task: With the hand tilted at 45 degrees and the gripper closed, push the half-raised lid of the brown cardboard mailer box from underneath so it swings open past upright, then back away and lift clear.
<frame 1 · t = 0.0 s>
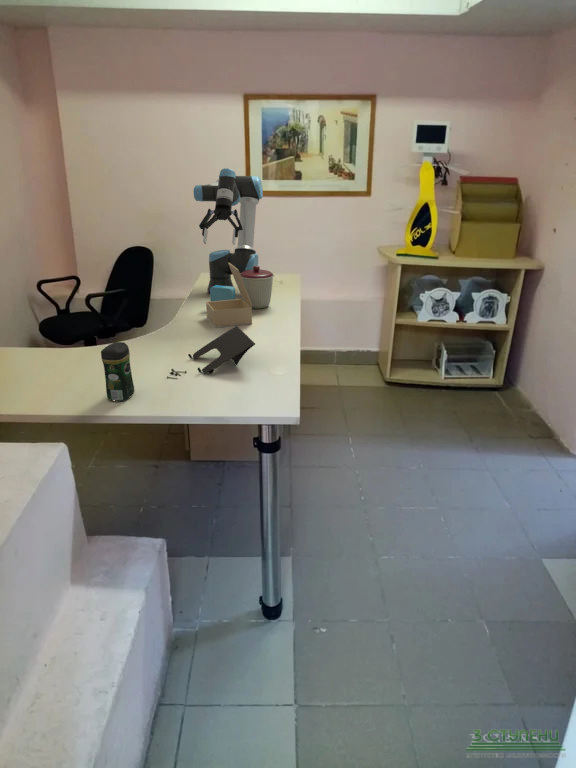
hand: (218, 243, 260), 36 cm above the table, tool tilted 35°, fingers open, 13 cm apart
coffee jar: (120, 397, 192), on the table
canister: (256, 306, 294), on the table
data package: (223, 310, 288), on the table
mailer box: (229, 320, 271), on the table
mailer lid: (240, 284, 266), point 17 cm above the table, hinge at 70.0°
portable electronic device stand: (220, 364, 221), on the table
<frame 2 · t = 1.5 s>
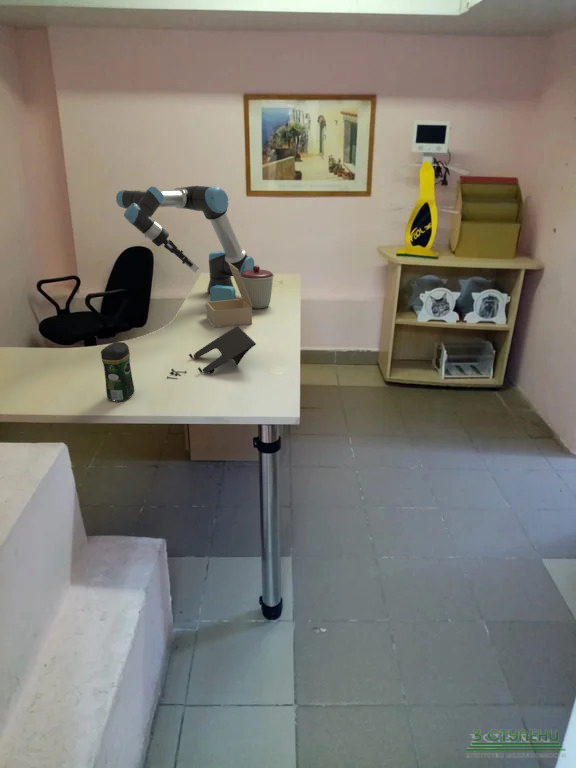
hand: (194, 267, 255), 27 cm above the table, tool tilted 45°, fingers open, 11 cm apart
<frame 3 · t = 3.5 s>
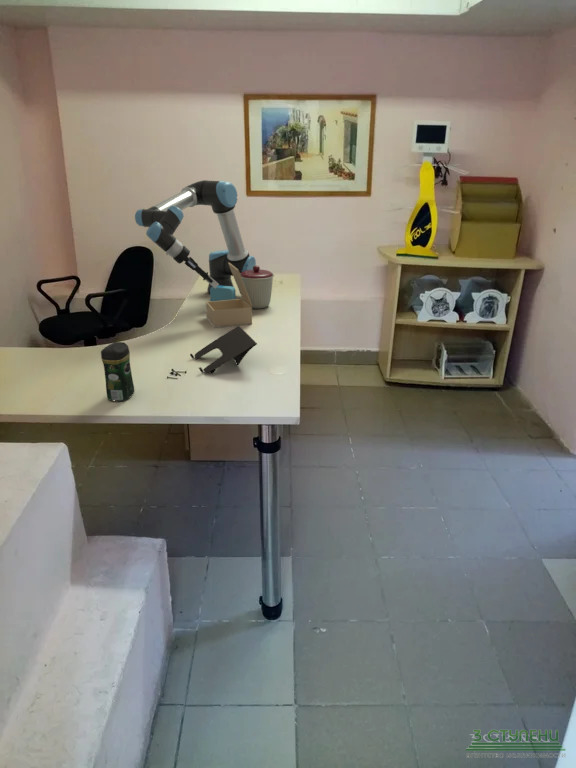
hand: (216, 286, 261), 17 cm above the table, tool tilted 45°, fingers closed
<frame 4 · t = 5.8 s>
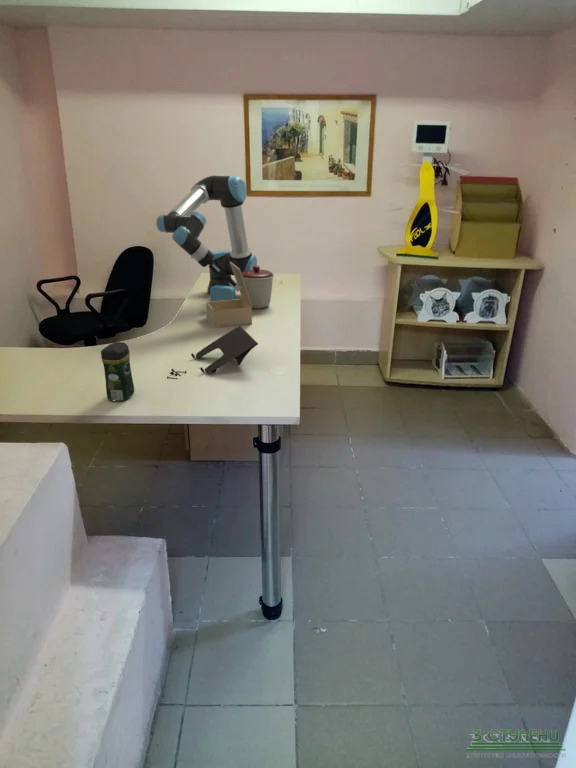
hand: (239, 289, 266), 15 cm above the table, tool tilted 45°, fingers closed
mailer lid: (241, 283, 266), point 17 cm above the table, hinge at 72.5°, touching gripper
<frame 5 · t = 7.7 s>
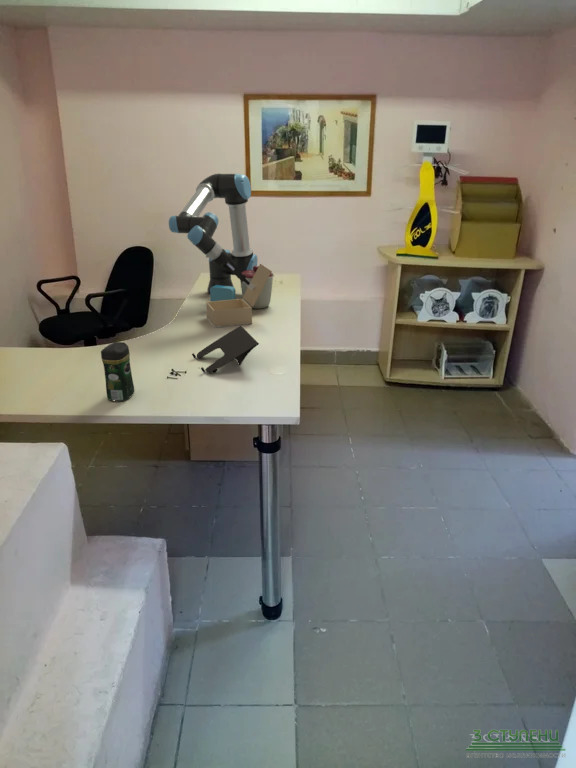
hand: (253, 287, 268), 15 cm above the table, tool tilted 45°, fingers closed
mailer lid: (256, 284, 269), point 16 cm above the table, hinge at 120.2°, touching gripper
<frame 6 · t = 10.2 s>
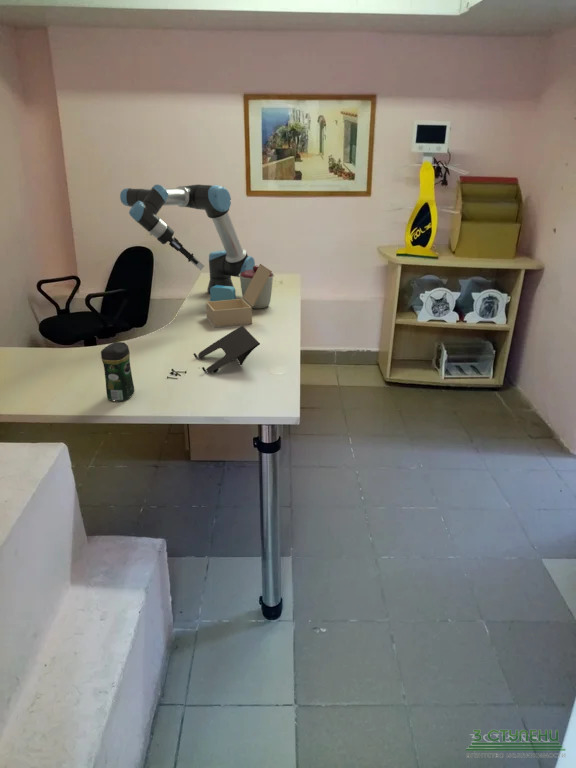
hand: (202, 267, 256), 26 cm above the table, tool tilted 45°, fingers closed
mailer lid: (256, 284, 269), point 16 cm above the table, hinge at 120.2°
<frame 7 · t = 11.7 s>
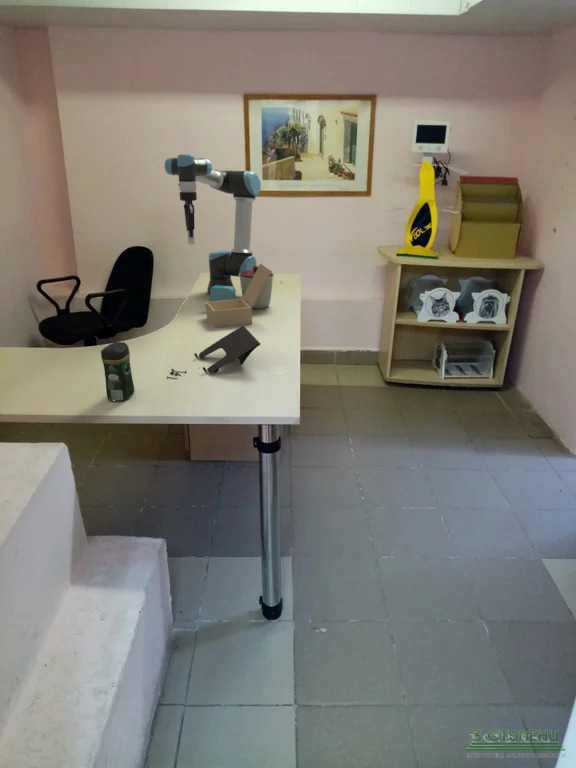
hand: (191, 244, 266), 34 cm above the table, tool pointing down, fingers closed
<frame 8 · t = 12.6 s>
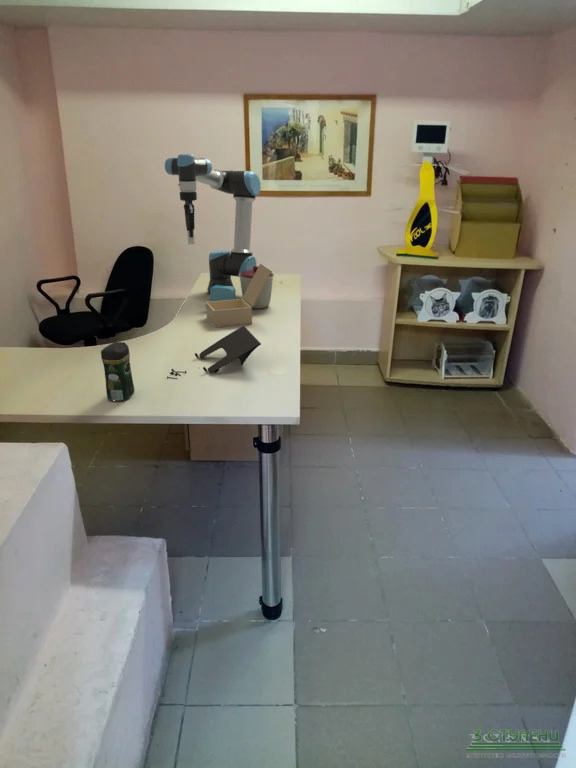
hand: (191, 244, 266), 34 cm above the table, tool pointing down, fingers closed
at the end: mailer lid at +120° (first picture: +70°); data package moved 0.3 cm from its start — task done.
